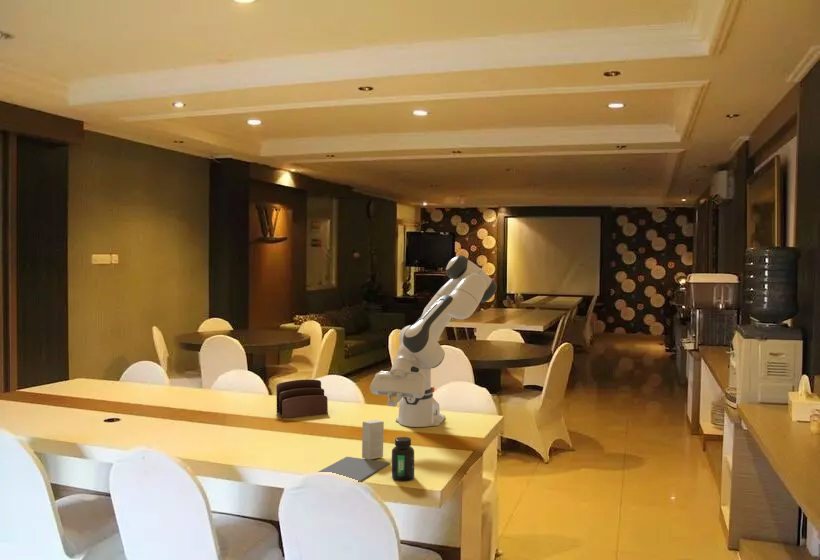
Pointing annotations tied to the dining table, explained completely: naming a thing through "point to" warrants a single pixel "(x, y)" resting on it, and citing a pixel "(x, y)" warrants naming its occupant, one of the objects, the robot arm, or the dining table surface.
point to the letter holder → (301, 399)
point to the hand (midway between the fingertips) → (391, 405)
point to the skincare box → (372, 439)
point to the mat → (356, 467)
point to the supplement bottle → (402, 460)
